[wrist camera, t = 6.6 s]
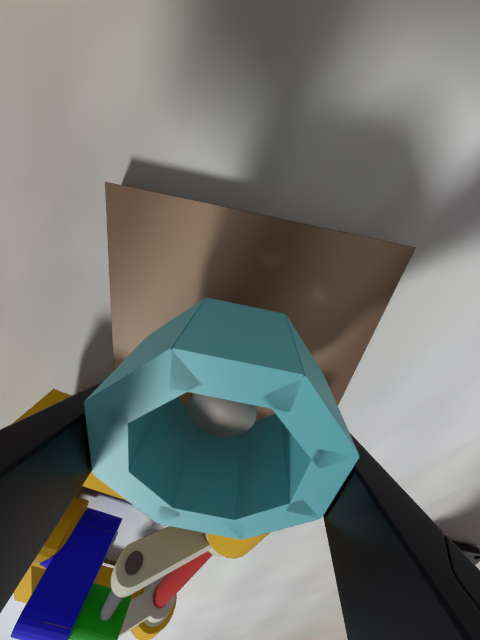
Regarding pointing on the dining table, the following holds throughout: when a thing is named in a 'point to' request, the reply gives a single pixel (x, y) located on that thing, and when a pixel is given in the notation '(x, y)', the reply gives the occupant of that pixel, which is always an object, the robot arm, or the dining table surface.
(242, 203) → the dining table surface
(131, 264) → the post stand
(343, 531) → the robot arm
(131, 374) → the ring
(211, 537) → the yellow jointed frame
